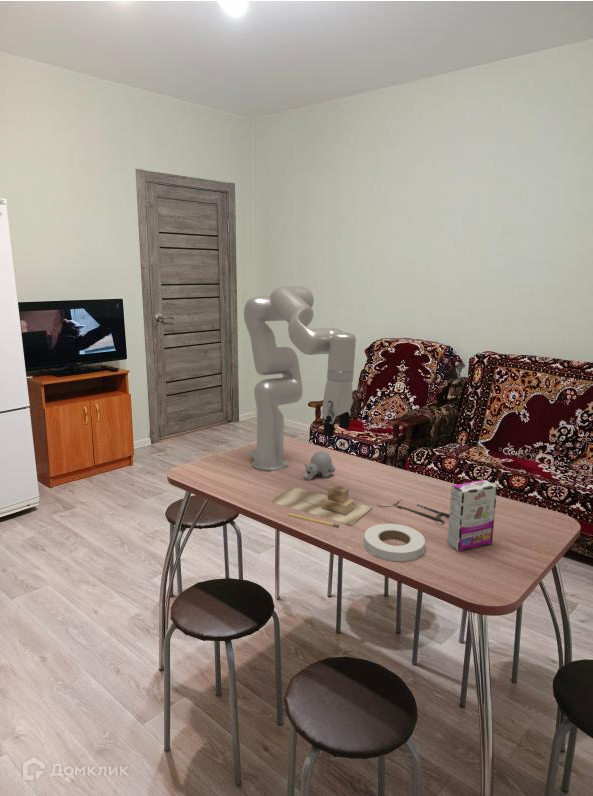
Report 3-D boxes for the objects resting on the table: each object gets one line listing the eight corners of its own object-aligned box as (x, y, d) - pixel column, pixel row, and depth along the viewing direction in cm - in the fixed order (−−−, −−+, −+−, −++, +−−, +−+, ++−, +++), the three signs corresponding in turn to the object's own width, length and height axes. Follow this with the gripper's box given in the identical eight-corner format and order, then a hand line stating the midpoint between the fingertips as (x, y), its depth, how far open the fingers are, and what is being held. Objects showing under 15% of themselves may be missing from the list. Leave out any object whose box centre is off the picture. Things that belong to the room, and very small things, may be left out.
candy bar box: (479, 536, 147) (485, 478, 143) (492, 544, 142) (499, 485, 139) (445, 543, 142) (450, 484, 139) (458, 552, 138) (464, 491, 134)
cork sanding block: (321, 508, 161) (322, 488, 159) (329, 503, 165) (330, 482, 163) (345, 515, 157) (346, 494, 155) (353, 509, 161) (354, 488, 159)
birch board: (268, 502, 165) (268, 501, 165) (293, 487, 177) (293, 486, 177) (351, 526, 151) (351, 524, 151) (372, 508, 162) (372, 507, 162)
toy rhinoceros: (300, 483, 187) (293, 463, 184) (325, 464, 193) (319, 445, 189) (314, 490, 182) (307, 469, 178) (339, 470, 187) (332, 450, 184)
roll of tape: (432, 562, 133) (433, 551, 133) (370, 563, 133) (370, 552, 132) (415, 532, 148) (415, 522, 148) (359, 533, 148) (359, 523, 147)
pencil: (287, 516, 156) (287, 514, 156) (288, 515, 157) (288, 512, 156) (338, 528, 149) (338, 526, 149) (339, 527, 150) (339, 524, 150)
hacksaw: (463, 522, 155) (464, 517, 155) (444, 533, 149) (444, 528, 148) (394, 496, 172) (395, 492, 172) (374, 505, 166) (374, 501, 165)
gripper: (342, 369, 166) (339, 422, 171) (313, 378, 152) (310, 436, 156) (365, 372, 162) (360, 427, 167) (337, 382, 148) (333, 442, 153)
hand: (336, 431), depth 162 cm, fingers open, 9 cm apart
